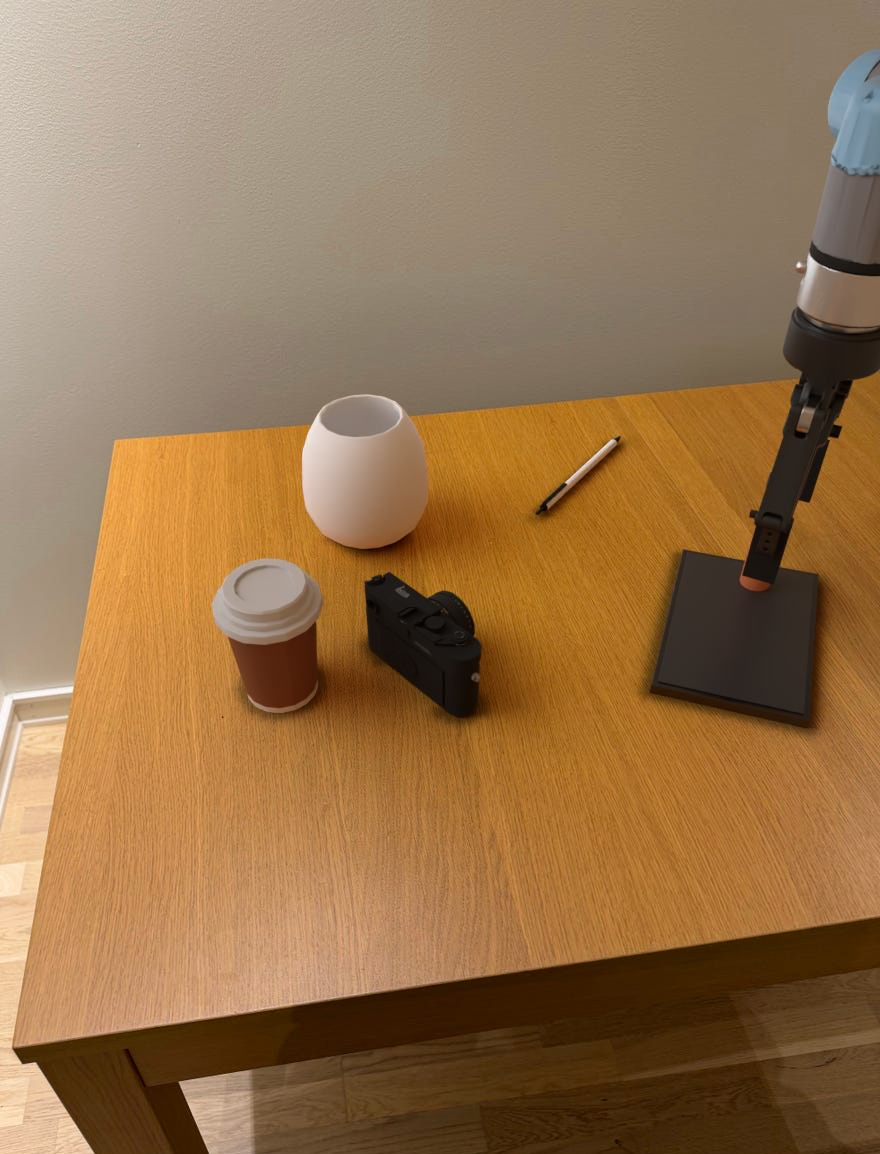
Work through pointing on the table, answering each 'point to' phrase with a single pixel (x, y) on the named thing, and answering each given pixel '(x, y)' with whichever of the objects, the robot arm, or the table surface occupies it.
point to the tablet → (739, 640)
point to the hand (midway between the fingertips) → (777, 535)
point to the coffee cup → (272, 631)
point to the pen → (577, 476)
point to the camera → (425, 641)
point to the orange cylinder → (749, 582)
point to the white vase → (364, 472)
